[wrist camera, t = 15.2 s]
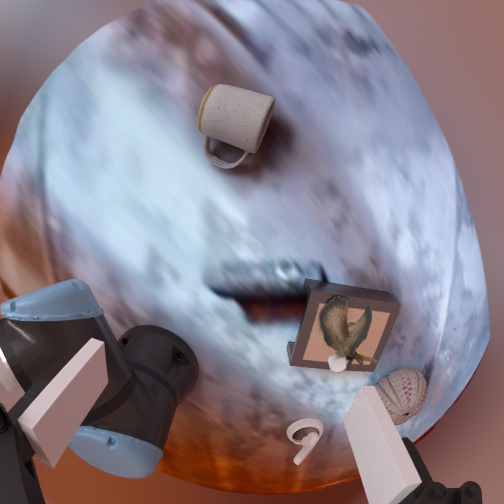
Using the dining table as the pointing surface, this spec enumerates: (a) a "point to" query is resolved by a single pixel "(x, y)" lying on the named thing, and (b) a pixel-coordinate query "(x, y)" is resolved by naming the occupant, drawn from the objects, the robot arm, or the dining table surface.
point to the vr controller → (306, 441)
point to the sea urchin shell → (402, 393)
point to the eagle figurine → (344, 334)
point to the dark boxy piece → (383, 316)
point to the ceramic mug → (234, 119)
